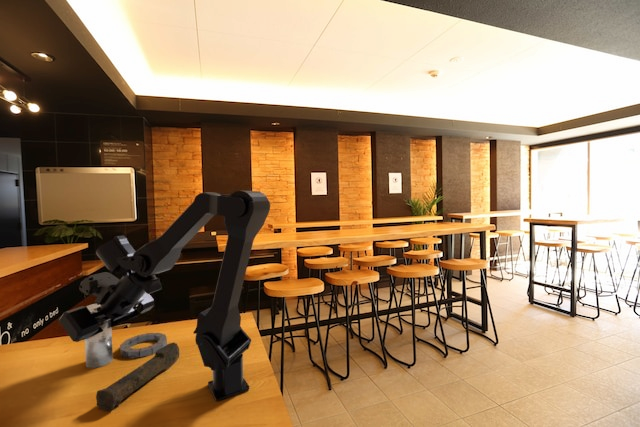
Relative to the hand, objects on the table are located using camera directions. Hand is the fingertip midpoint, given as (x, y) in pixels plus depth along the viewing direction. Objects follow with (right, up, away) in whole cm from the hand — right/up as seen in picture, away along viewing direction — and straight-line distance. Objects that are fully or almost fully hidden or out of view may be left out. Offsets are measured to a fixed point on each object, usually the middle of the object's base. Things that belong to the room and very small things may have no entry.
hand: (93, 333), depth 70 cm
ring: (+8, -6, +7) cm, 12 cm away
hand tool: (+16, -7, -7) cm, 19 cm away
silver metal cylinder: (+1, -7, 0) cm, 7 cm away
